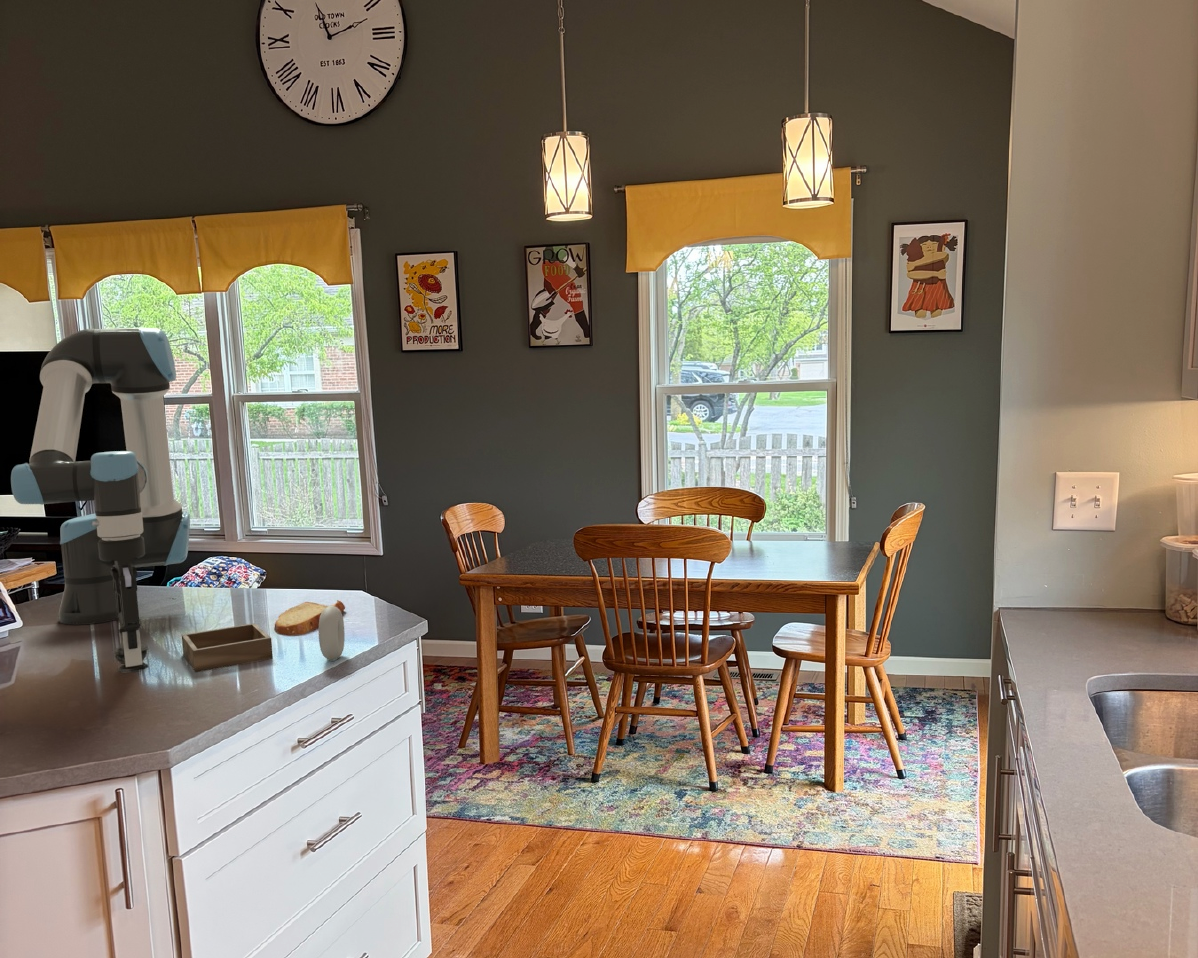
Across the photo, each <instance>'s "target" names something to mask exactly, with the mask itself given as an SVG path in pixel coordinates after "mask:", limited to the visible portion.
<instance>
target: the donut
mask: <svg viewBox="0 0 1198 958" xmlns="http://www.w3.org/2000/svg"><path fill="white" fill-rule="evenodd" d="M328 606H329V607H326V608H325V609H324V610H323V611H322V613H321V615H320V619H319V628H318V641H319V649H320V651H321V652H320V653H321V654H322V656H323V658H325V659H326V660H328V661H332V662H333V661H336V660H338V659H339V658H340V657H341V656H342V655H343V651H344V648H345V638H346V637H345V636H346V635H345V623H344V618H343V614H342V613H343V612H341V611H340V610H339V609H338V608H337V607H335V606H331V605H328Z"/></svg>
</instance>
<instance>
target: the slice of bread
mask: <svg viewBox="0 0 1198 958" xmlns="http://www.w3.org/2000/svg"><path fill="white" fill-rule="evenodd" d="M329 606H335V607H337V608H338V609H339V610H340V611H341V613H343V611H345V610H346V606H345V604H344V603H343V602H342V601H341V600H338V599H337V600H336V603H335V604H332V605H325V604H321V603H316V602H311V601H305V602H302V603H299V604H298V605H296V606H294V607H293V606H292V607H290V608H288V609H287V610H285V611H283V612H282V613H281V614H279V615H278V618H277V620H275V622H274V629H273V630H274V632H275V633H276V634H279V635H282V636H290V637H291V636H292V637H293V636H299V635H301V636H302V635H305V634H306V633H310V632H311V631H315V630H316V629H319V619H320V615H321V613H322V611H323V610H324V609H325V608H326V607H329Z"/></svg>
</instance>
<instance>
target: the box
mask: <svg viewBox="0 0 1198 958" xmlns="http://www.w3.org/2000/svg"><path fill="white" fill-rule="evenodd" d="M181 644H182V655H183V657H184V659H185V660H186V662H187V663H188V664H189V666H190V667H191V668H192V670H193V671H194V673H199V672H205V671H211V670H216V669H222V668H228V667H233V666H239V665H245V664H250V663H255V662H260V661H261V662H262V661H267V660H268V661H269V660H272V659H274V656H273V643H272V637H271V636H270V635H269V634H268V633H266V632H265V630H264V629H263V628H261V627H260V626H259V625H258V624H257V623H256V622H254V623H248V624H241V625H235V626H227V627H222V628H215V629H210V630H202V631H197V632H192V633H191V632H190V633H184V634H181Z"/></svg>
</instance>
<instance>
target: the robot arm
mask: <svg viewBox="0 0 1198 958" xmlns="http://www.w3.org/2000/svg"><path fill="white" fill-rule="evenodd" d="M174 359H175V358H174V355H173V351H172V348H171V344H170V340H169V339H168V336H167V334H166V333H165V332H164V330H162V329H160V328H154V327H152V328H151V327H118V328H116V327H115V328H113V327H112V328H85V329H82V330H77V331H76V332H72V333H71V334H69V335H67V336H66V337H65V338H62V339H61V340H60V341H58V343H56V344H55V346H53V347H52V348H51V349H50V351H49V352H48V353H47V355H46V357H45V358H44V360H43V362H42V364H41V368H40V373H39V381H40V383H41V385H42V387H43V388H42V393H41V399H40V404H39V409H38V414H37V421H36V424H35V429H34V435H33V440H32V446H31V449H30V450H31V451H30V457H29V463H28V462H24V463H22V464H15V466H14V467H13V468H12V470H11V474H10V485H11V493H12V496H13V497H14V500H15V501H16V503H18V504H20V505H41V506H42V505H46V504H47V505H49V504H60V503H73V502H90V501H94V509H95V510H94V511H95V512H94V513H91V514H85V515H82V516H78V517H74V518H71V519H68V520H65V521H64V522H63V523H62V524H61V526H60V528H59V529H60V531H59V532H60V540H59V545H60V549H61V558H62V568H63V577H64V578H63V579H64V591H63V593H62V598H61V602H60V606H59V609H58V618H59V619H58V620H59V623H61V624H65V625H87V624H88V625H89V624H98V623H105V622H112V621H116V620H117V621H118V630H119V631H118V632H119V633H118V634H119V642H120V644H121V636H120V633H123V644H124V655H125V666H126V667H130V666H136V665H142V662H143V660H142V654H141V644H142V642H141V633H140V629H141V622H140V615H139V604H138V603H139V602H138V583H137V577H138V571H137V570H138V569H137V568H141V567H144V568H145V567H152V566H153V567H155V566H157V567H158V566H167V565H174V564H181V563H183V562H184V561H185V560H187V557H188V552H189V545H190V531H191V529H190V528H191V514H190V513H189V512H187V511H183V506H182V504H181V503H180V502H179V501H178V500H176V499H175V498H174V497H175V495H174V488H173V478H172V471H171V470H172V468H171V459H170V448H169V438H168V430H167V420H166V409H165V399H164V396H165V395H166V394H167V393H168V391H170V390H171V386H170V385H171V384H170V382H171V383H172V382H173V381H176V379H177V371H176V366H175V365H176V364H175V360H174ZM93 384H110V386H111V392H112V394H114V395H115V396H116V397H118V398H119V399H120V405H121V413H122V414H121V415H122V422H123V432H124V440H125V441H124V442H125V447H126V448H125V449H126V450H120V451H119V450H118V451H117V450H116V451H115V450H114V451H104V452H96V453H93V454H92V455H91V457H90V460H83V461H80V460H79V461H77V460H76V457H77V451H78V444H79V439H80V429H81V424H82V417H83V409H84V404H85V395H86V393H88V392H89V391H90V389H91V387H92V385H93ZM120 612H122V621H123V629H120V620H119V613H120ZM132 622H134V623H132ZM139 628H140V629H139Z"/></svg>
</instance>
